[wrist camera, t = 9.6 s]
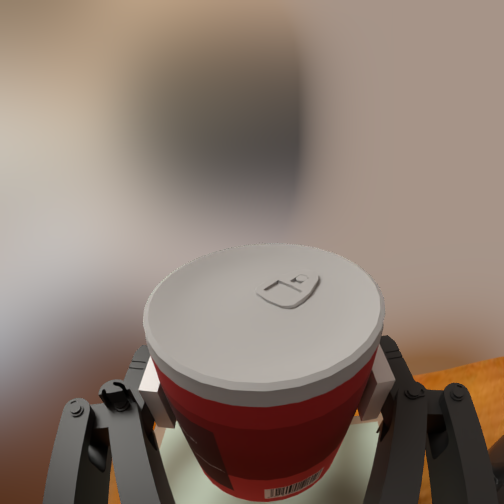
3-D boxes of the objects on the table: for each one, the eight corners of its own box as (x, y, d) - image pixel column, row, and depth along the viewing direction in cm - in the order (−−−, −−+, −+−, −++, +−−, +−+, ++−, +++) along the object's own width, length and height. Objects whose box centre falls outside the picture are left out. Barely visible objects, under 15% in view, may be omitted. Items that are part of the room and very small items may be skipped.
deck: (379, 424, 24) (389, 406, 22) (398, 543, 11) (415, 537, 10) (167, 423, 26) (158, 405, 24) (134, 537, 13) (117, 530, 12)
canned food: (352, 417, 15) (398, 261, 11) (297, 527, 9) (346, 442, 4) (245, 381, 19) (233, 229, 14) (173, 465, 13) (93, 320, 8)
